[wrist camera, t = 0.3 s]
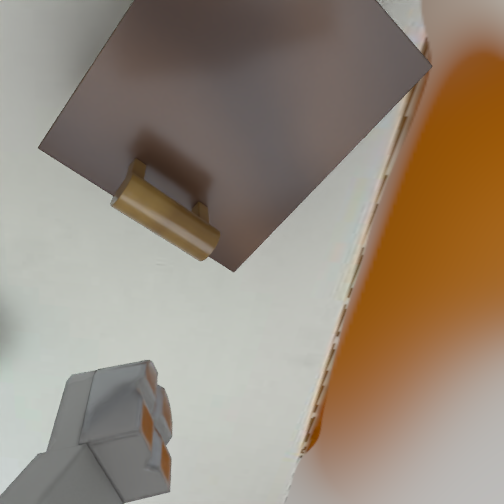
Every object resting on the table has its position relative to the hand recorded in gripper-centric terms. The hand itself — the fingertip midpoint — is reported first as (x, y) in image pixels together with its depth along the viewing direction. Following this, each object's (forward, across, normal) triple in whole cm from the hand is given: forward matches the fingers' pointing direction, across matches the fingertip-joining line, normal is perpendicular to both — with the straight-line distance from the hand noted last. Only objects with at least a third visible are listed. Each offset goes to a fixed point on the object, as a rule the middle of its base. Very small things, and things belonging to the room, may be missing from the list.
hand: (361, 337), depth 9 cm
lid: (+17, +1, 0) cm, 17 cm away
